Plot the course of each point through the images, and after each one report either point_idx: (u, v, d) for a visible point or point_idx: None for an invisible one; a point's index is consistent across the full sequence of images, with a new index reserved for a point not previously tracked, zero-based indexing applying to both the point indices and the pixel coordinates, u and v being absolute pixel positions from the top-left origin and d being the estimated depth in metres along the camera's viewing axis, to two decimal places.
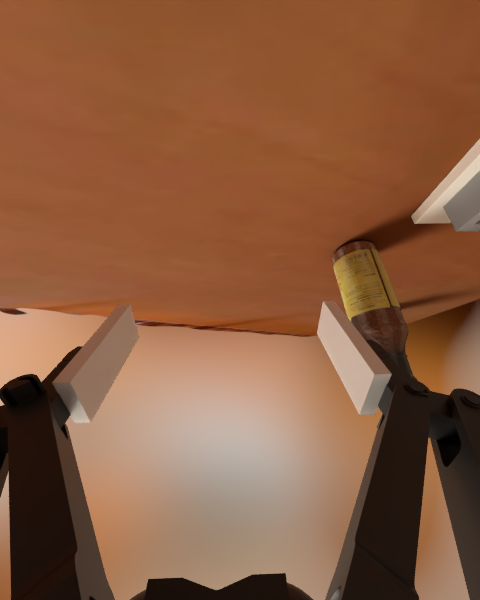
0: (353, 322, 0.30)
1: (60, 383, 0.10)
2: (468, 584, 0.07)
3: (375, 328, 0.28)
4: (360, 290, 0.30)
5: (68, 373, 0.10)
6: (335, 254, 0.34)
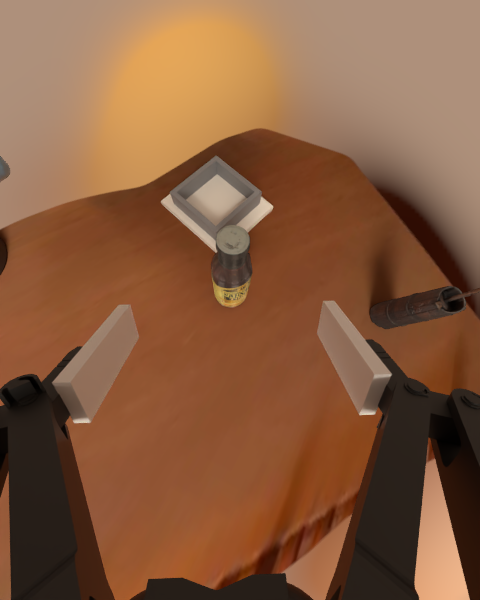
0: (217, 283, 0.35)
1: (60, 383, 0.10)
2: (468, 584, 0.07)
3: (211, 263, 0.34)
4: None
5: (68, 373, 0.10)
6: (218, 301, 0.45)
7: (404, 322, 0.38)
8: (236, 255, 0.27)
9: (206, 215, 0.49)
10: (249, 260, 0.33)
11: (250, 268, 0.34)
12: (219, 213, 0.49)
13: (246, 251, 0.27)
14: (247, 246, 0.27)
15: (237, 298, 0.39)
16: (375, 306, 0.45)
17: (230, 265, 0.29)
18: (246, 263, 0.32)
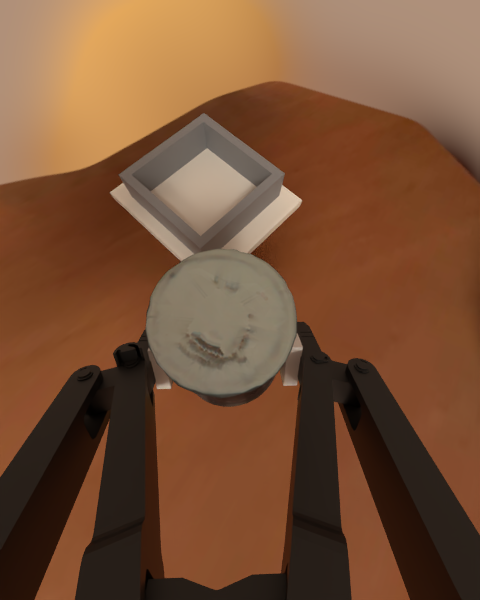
0: None
1: None
2: (386, 530, 0.08)
3: None
4: None
5: None
6: None
7: None
8: (240, 394, 0.06)
9: (187, 216, 0.28)
10: None
11: None
12: (209, 213, 0.29)
13: None
14: (288, 349, 0.06)
15: None
16: None
17: None
18: None
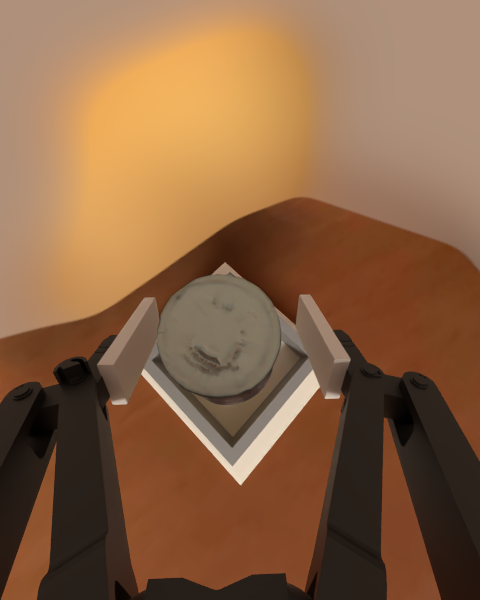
0: None
1: (104, 366, 0.11)
2: (430, 555, 0.07)
3: None
4: None
5: (110, 357, 0.11)
6: None
7: None
8: (234, 396, 0.07)
9: None
10: None
11: None
12: None
13: None
14: (273, 359, 0.07)
15: None
16: None
17: None
18: None
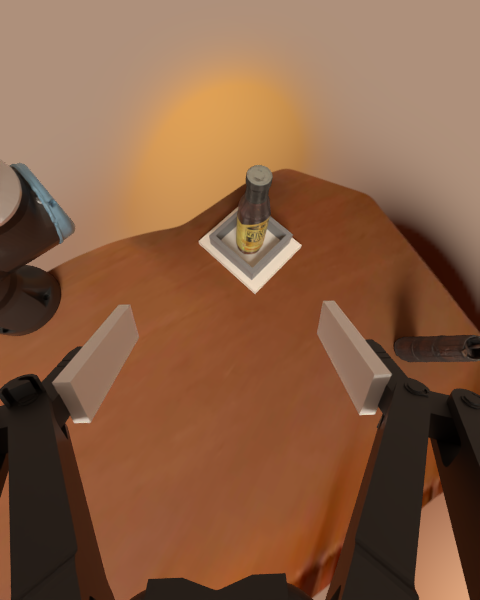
0: (242, 221, 0.43)
1: (60, 383, 0.10)
2: (468, 584, 0.07)
3: None
4: None
5: (68, 373, 0.10)
6: None
7: (429, 360, 0.42)
8: (262, 186, 0.35)
9: (240, 254, 0.54)
10: (268, 201, 0.42)
11: (269, 209, 0.42)
12: None
13: (269, 184, 0.36)
14: (270, 180, 0.35)
15: (257, 240, 0.48)
16: (399, 341, 0.48)
17: (255, 199, 0.38)
18: (267, 201, 0.40)
